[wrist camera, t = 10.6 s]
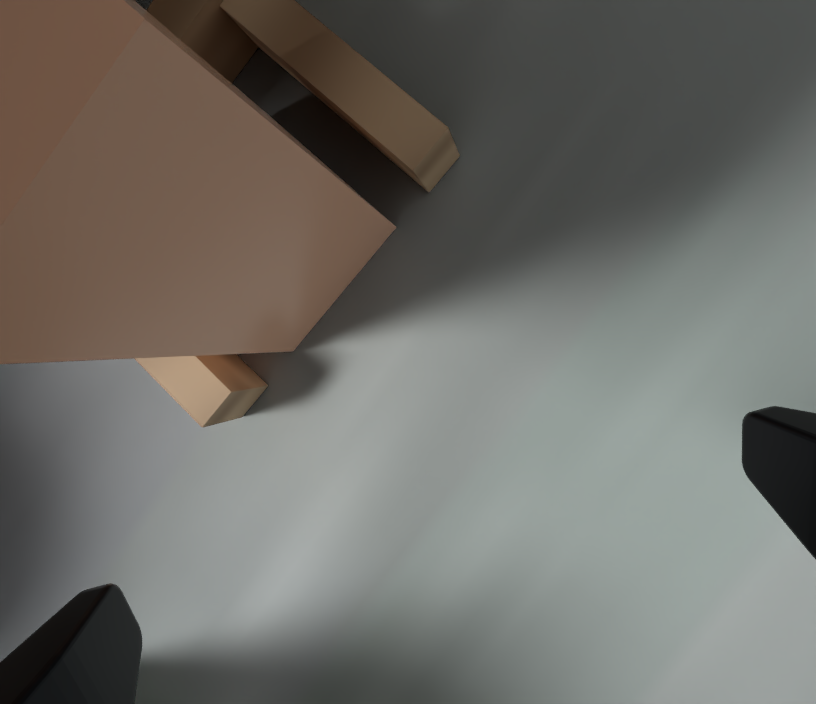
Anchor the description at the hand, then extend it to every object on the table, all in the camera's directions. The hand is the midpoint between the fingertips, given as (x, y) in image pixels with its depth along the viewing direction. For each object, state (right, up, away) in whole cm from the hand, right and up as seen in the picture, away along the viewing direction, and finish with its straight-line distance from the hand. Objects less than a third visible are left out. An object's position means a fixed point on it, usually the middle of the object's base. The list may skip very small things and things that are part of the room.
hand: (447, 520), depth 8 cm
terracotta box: (-5, +6, +12) cm, 14 cm away
